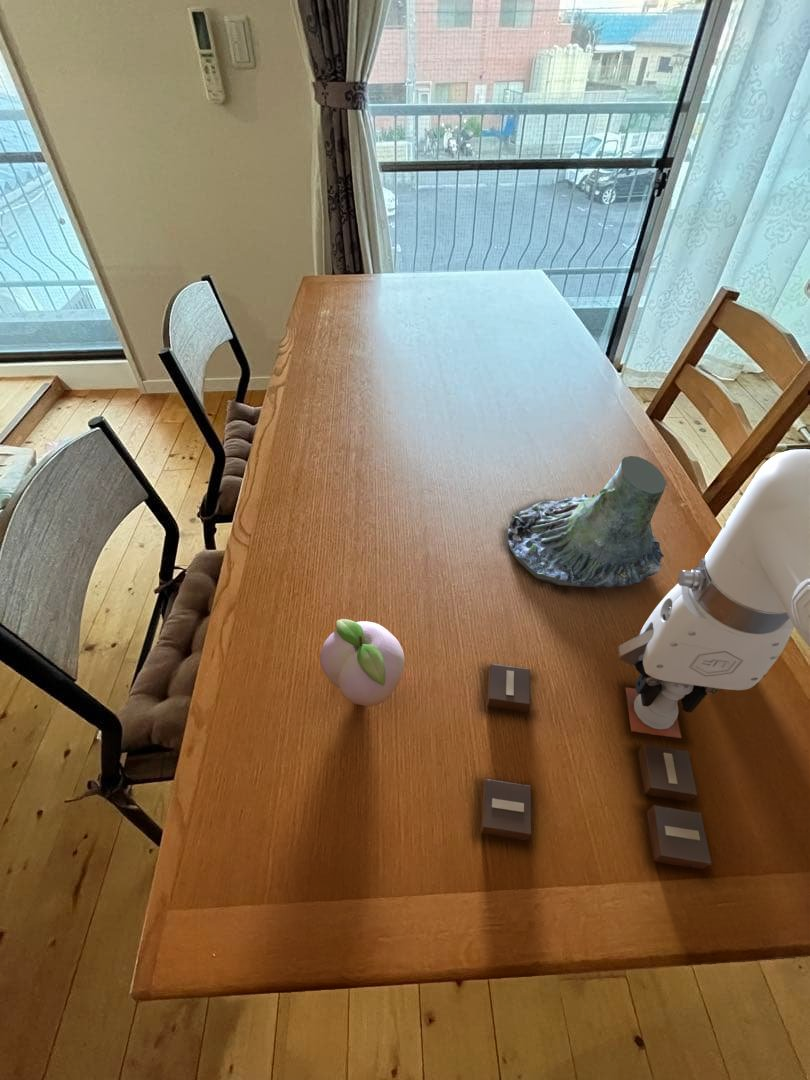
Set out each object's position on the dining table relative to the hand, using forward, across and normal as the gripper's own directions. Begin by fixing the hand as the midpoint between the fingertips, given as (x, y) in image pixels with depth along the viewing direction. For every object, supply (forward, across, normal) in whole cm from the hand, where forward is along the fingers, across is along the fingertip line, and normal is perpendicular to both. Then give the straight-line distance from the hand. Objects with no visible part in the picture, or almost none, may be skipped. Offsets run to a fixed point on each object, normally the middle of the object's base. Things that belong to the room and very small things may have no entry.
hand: (664, 695), depth 59 cm
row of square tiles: (+4, 0, -6) cm, 8 cm away
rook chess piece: (+4, 0, 0) cm, 4 cm away
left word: (+4, -16, -6) cm, 18 cm away
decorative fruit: (+4, -32, -2) cm, 32 cm away
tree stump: (+4, -6, +24) cm, 26 cm away
